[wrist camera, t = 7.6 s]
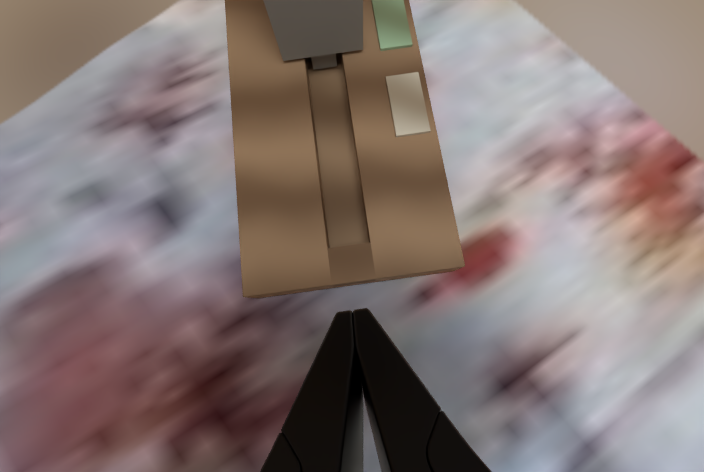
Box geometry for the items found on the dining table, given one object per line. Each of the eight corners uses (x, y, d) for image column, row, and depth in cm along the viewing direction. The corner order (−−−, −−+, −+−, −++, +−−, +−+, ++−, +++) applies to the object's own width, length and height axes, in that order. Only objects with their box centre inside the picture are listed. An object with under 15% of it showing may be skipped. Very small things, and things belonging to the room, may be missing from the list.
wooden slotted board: (452, 271, 20) (466, 265, 17) (257, 298, 20) (241, 296, 17) (394, -18, 25) (397, -57, 22) (237, 5, 25) (221, -31, 22)
